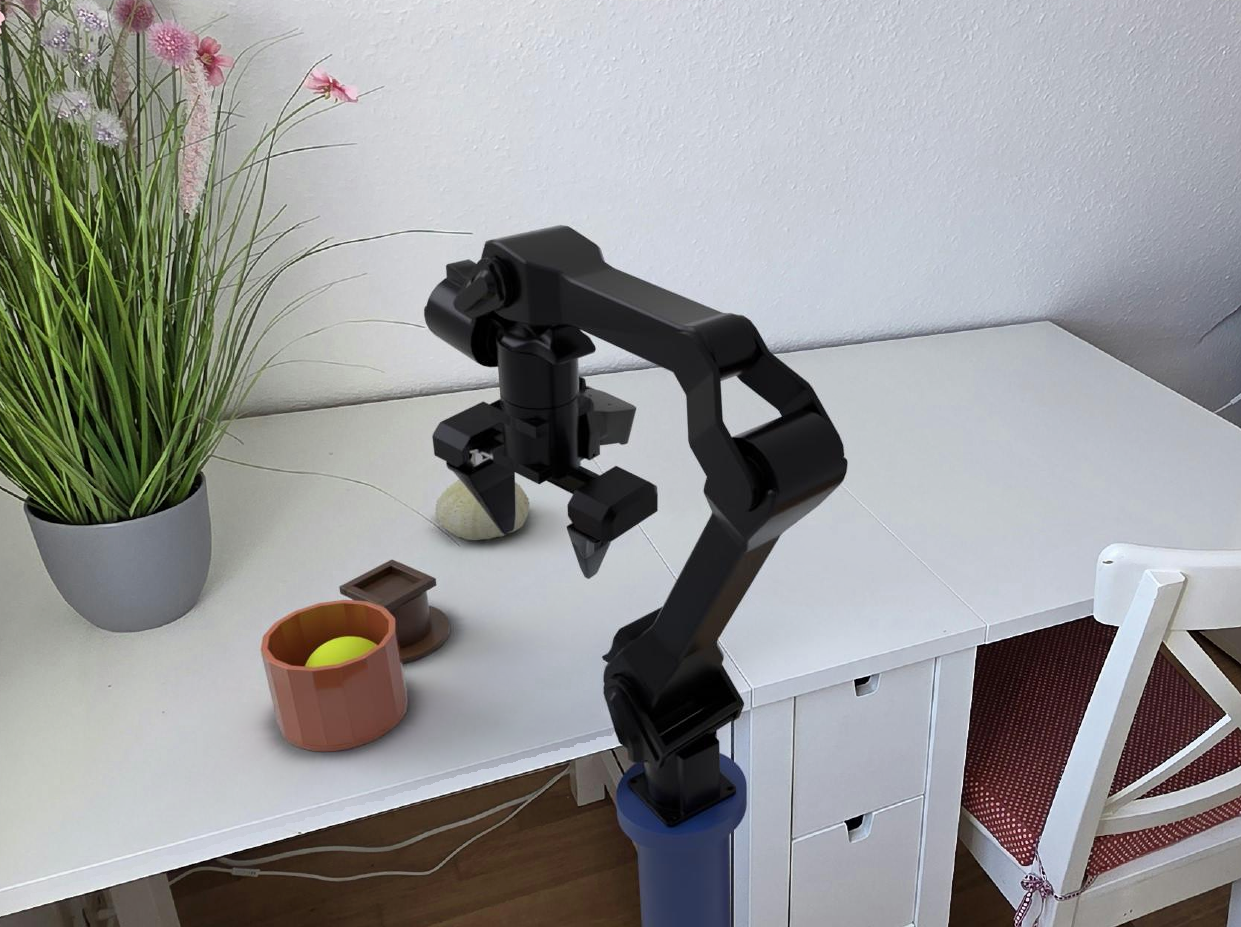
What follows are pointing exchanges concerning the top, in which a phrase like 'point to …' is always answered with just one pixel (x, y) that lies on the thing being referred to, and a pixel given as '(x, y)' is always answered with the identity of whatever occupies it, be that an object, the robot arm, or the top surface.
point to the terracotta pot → (335, 676)
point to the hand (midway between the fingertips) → (548, 553)
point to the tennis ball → (339, 651)
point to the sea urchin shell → (474, 513)
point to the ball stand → (403, 606)
